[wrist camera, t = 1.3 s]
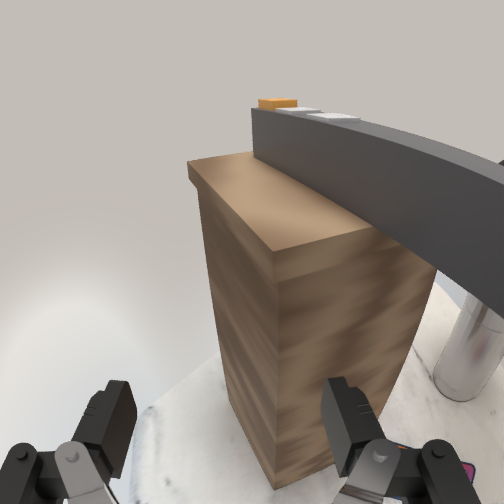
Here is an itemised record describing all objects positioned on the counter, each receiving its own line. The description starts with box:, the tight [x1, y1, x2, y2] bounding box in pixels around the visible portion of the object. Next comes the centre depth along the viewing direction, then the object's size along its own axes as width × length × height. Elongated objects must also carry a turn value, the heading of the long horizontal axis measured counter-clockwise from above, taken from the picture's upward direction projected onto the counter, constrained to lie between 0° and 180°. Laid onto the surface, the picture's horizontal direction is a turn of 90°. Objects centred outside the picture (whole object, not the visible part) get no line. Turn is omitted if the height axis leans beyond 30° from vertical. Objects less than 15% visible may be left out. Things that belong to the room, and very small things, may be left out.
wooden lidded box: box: [187, 151, 437, 490], centre depth 29 cm, size 13×16×32 cm
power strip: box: [251, 98, 504, 319], centre depth 15 cm, size 3×23×5 cm, turn 22°
